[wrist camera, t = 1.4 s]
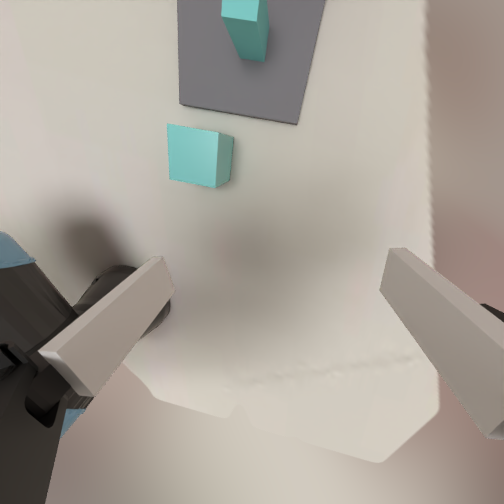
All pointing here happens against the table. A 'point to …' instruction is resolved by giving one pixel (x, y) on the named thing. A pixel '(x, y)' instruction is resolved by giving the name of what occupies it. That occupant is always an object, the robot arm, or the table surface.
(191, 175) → the teal rectangular prism
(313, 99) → the table surface
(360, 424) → the table surface
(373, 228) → the table surface
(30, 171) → the table surface
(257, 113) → the stand
